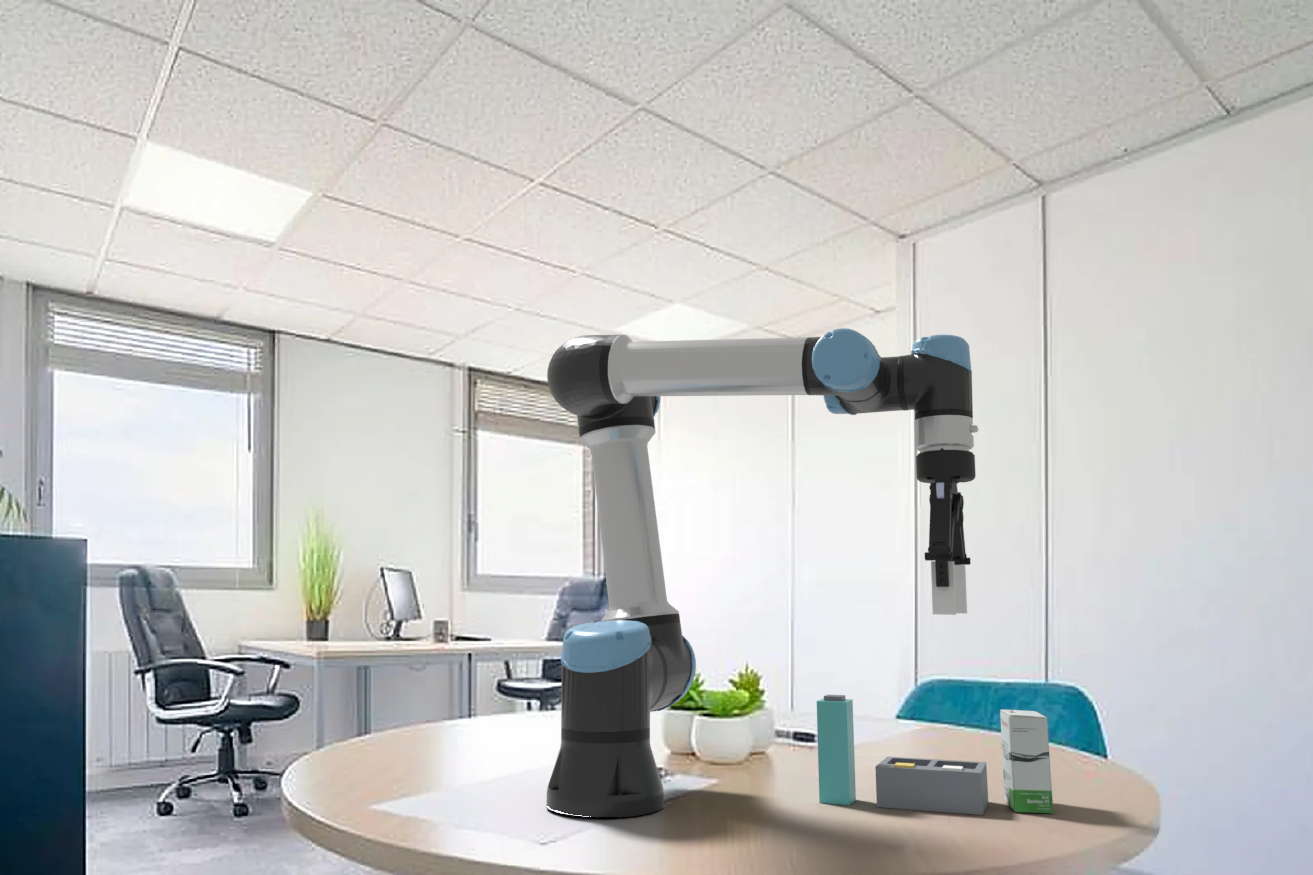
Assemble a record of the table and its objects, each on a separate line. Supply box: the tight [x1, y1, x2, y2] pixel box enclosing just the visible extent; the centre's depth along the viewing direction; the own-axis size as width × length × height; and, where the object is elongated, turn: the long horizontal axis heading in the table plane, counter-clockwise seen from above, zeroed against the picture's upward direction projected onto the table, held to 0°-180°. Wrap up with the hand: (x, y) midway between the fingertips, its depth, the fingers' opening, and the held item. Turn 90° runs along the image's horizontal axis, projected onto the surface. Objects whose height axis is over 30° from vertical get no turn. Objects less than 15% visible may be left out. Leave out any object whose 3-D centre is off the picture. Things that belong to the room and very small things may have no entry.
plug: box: [816, 694, 857, 806], centre depth 131 cm, size 4×4×14 cm
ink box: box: [999, 709, 1054, 814], centre depth 127 cm, size 9×5×12 cm, turn 168°
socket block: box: [875, 756, 989, 816], centre depth 129 cm, size 13×9×5 cm
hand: (950, 614), depth 127 cm, fingers open, 13 cm apart
